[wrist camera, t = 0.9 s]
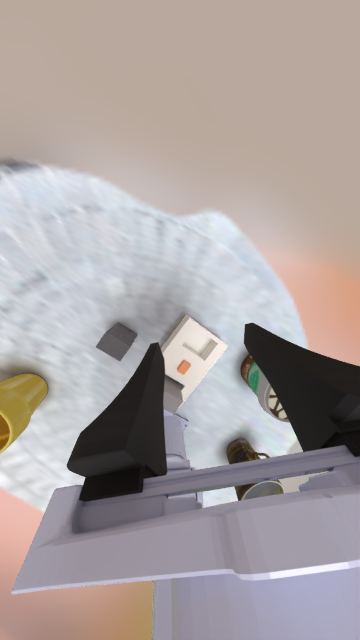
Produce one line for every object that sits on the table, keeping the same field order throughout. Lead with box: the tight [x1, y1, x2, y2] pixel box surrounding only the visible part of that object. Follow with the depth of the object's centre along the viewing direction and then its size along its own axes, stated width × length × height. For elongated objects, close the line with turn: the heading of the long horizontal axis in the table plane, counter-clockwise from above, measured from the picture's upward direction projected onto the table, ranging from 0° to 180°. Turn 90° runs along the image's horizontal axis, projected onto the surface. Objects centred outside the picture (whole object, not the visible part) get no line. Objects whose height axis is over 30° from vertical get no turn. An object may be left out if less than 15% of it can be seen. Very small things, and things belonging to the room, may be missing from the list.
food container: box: [241, 355, 290, 422], centre depth 30 cm, size 12×6×10 cm, turn 9°
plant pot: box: [0, 373, 48, 453], centre depth 25 cm, size 10×10×10 cm
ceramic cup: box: [227, 439, 284, 501], centre depth 34 cm, size 13×10×10 cm
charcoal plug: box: [163, 374, 183, 414], centre depth 28 cm, size 3×4×7 cm
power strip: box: [161, 315, 228, 409], centre depth 30 cm, size 17×10×5 cm, turn 142°
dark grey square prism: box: [96, 323, 137, 361], centre depth 26 cm, size 3×4×7 cm
